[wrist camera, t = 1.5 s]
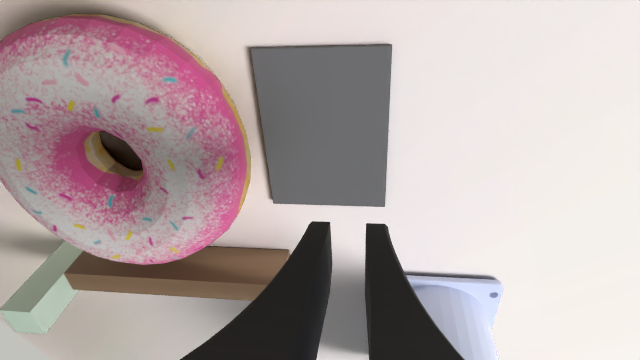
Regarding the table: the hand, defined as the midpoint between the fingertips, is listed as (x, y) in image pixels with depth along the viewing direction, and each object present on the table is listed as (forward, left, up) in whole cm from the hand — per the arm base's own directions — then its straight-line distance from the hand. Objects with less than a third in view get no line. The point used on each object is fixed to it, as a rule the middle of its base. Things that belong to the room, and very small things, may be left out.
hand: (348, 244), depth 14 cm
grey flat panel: (0, +2, -8) cm, 9 cm away
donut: (0, +12, -9) cm, 15 cm away
